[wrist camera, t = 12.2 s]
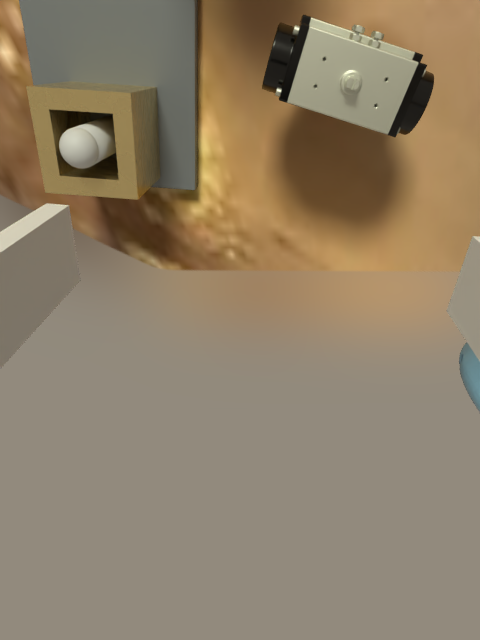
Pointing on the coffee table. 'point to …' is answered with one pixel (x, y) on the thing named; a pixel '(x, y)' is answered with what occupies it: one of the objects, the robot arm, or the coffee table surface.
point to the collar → (129, 127)
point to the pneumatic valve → (348, 76)
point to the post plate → (122, 71)
